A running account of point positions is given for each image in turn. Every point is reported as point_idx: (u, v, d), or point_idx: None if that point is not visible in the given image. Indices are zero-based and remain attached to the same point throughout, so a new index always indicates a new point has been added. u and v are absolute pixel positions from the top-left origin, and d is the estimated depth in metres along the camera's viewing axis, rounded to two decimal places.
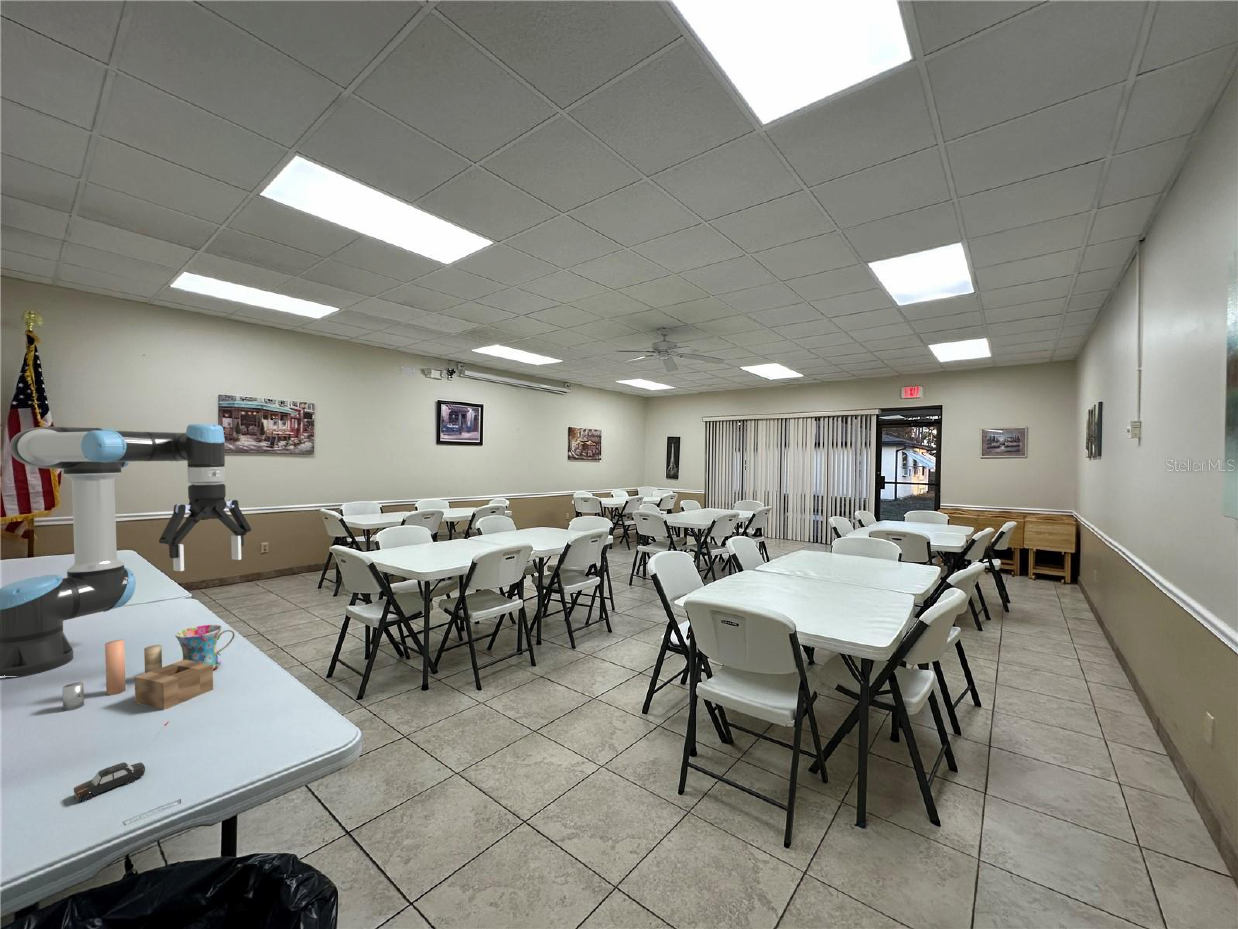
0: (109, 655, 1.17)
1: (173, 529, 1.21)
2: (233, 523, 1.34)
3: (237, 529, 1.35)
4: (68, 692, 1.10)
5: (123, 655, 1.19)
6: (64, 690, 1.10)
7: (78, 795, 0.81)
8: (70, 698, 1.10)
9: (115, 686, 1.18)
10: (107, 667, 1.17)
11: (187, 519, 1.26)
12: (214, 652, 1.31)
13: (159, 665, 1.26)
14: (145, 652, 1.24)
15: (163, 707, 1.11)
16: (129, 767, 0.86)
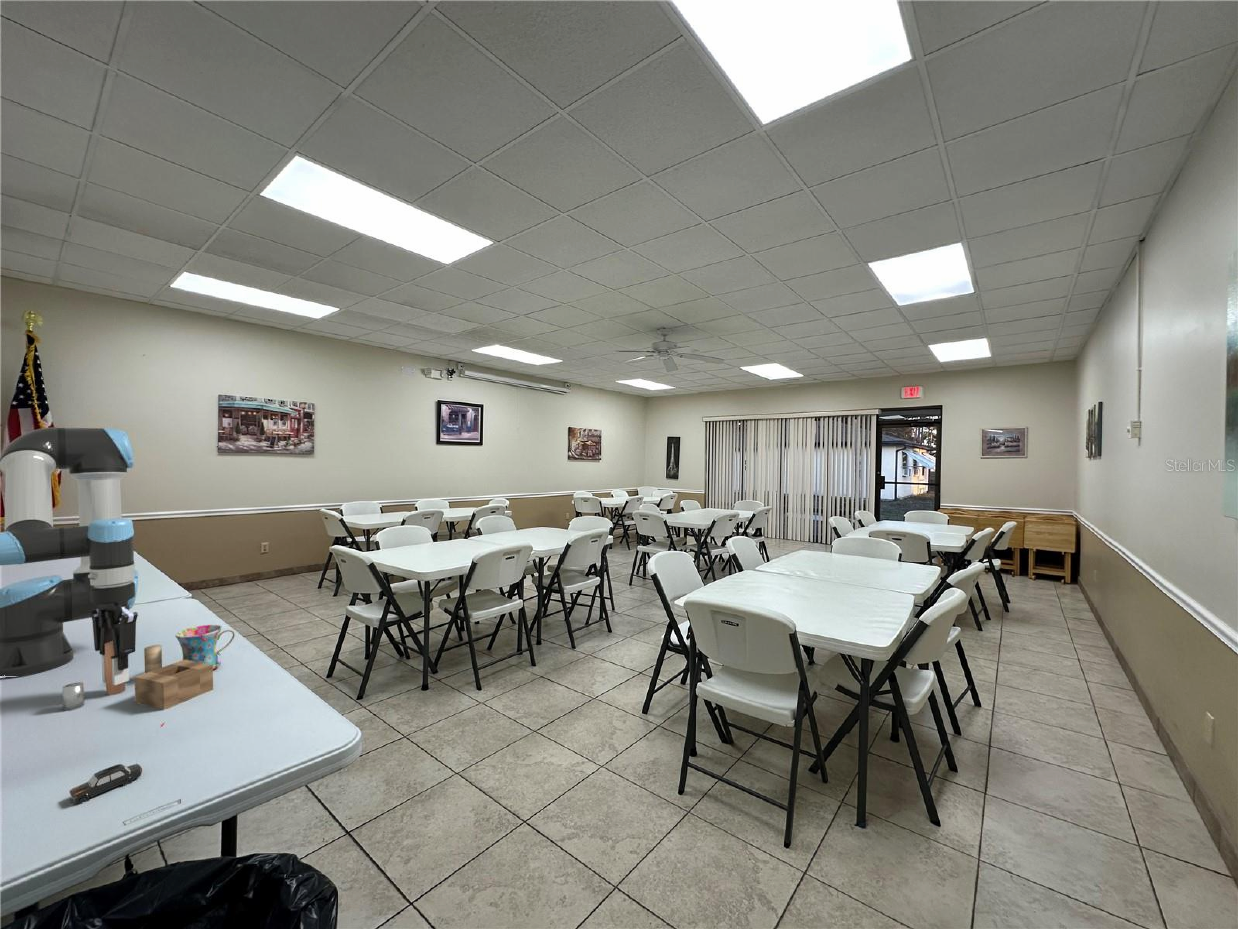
0: (109, 655, 1.17)
1: (95, 636, 1.19)
2: (114, 639, 1.17)
3: (114, 648, 1.17)
4: (68, 692, 1.10)
5: None
6: (64, 690, 1.10)
7: (75, 797, 0.80)
8: (70, 698, 1.10)
9: (115, 686, 1.18)
10: (107, 667, 1.17)
11: None
12: (214, 652, 1.31)
13: (159, 665, 1.26)
14: (145, 652, 1.24)
15: (163, 707, 1.11)
16: (126, 768, 0.86)
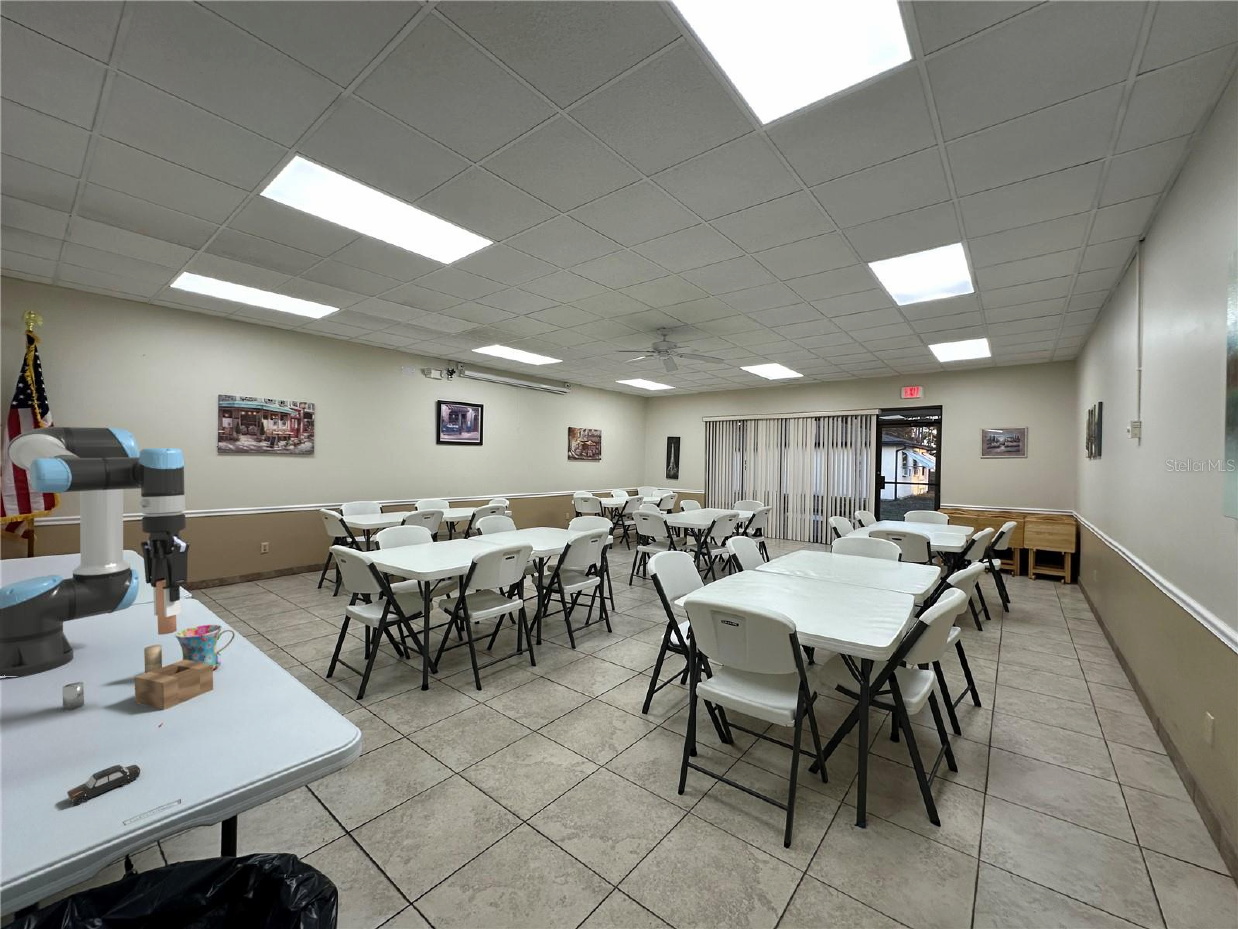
0: (161, 593, 1.14)
1: (146, 568, 1.17)
2: (166, 569, 1.14)
3: (166, 578, 1.14)
4: (68, 692, 1.10)
5: None
6: (64, 690, 1.10)
7: (73, 798, 0.80)
8: (70, 698, 1.10)
9: (167, 625, 1.15)
10: (158, 606, 1.15)
11: None
12: (214, 652, 1.31)
13: (159, 665, 1.26)
14: (145, 652, 1.24)
15: (163, 707, 1.11)
16: (124, 769, 0.86)
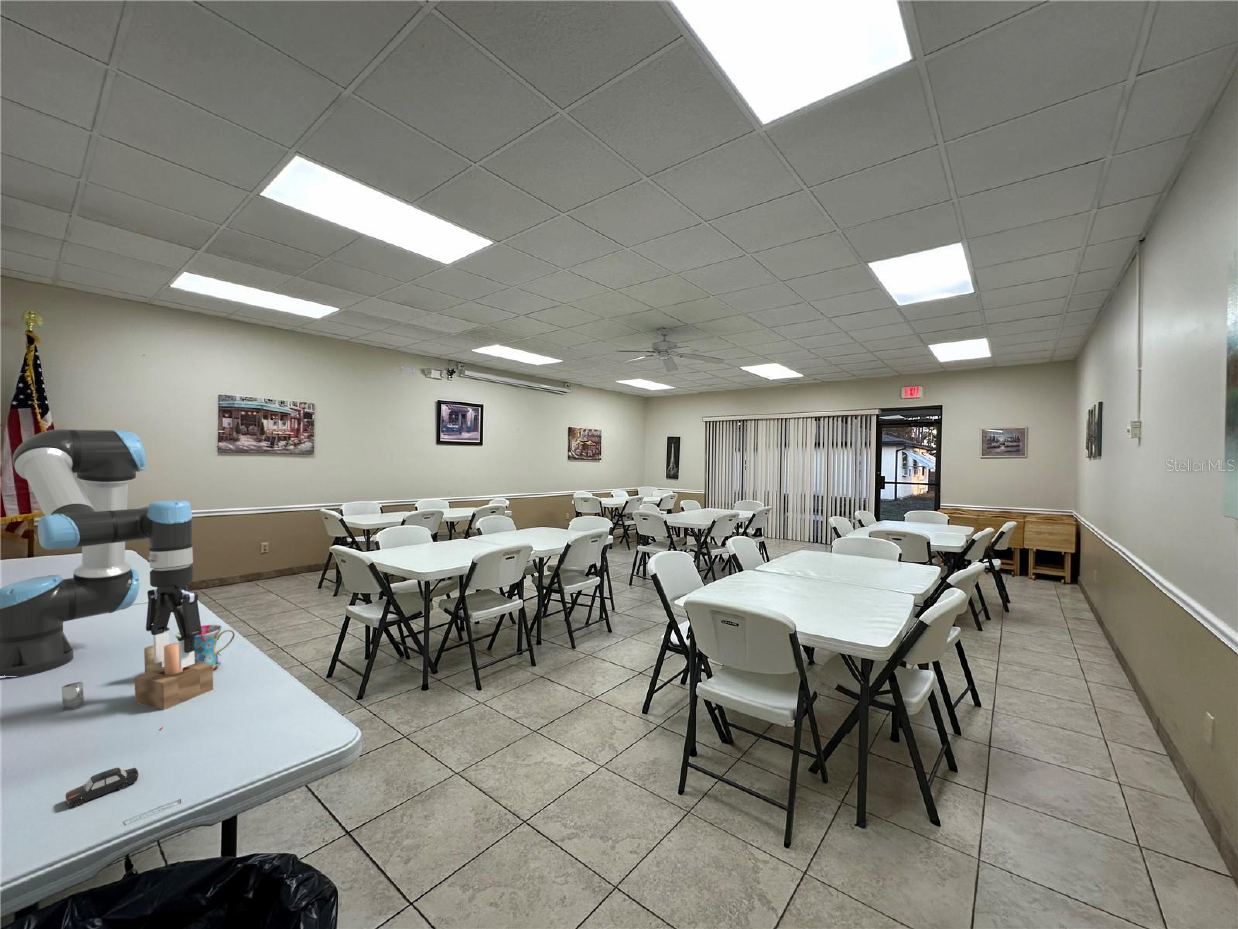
0: (168, 658, 1.15)
1: (148, 616, 1.17)
2: (178, 621, 1.14)
3: (180, 630, 1.14)
4: (68, 692, 1.10)
5: None
6: (64, 690, 1.10)
7: (69, 801, 0.80)
8: (70, 698, 1.10)
9: None
10: (166, 670, 1.15)
11: None
12: (214, 652, 1.31)
13: (159, 665, 1.26)
14: (145, 652, 1.24)
15: (163, 707, 1.11)
16: (122, 773, 0.85)
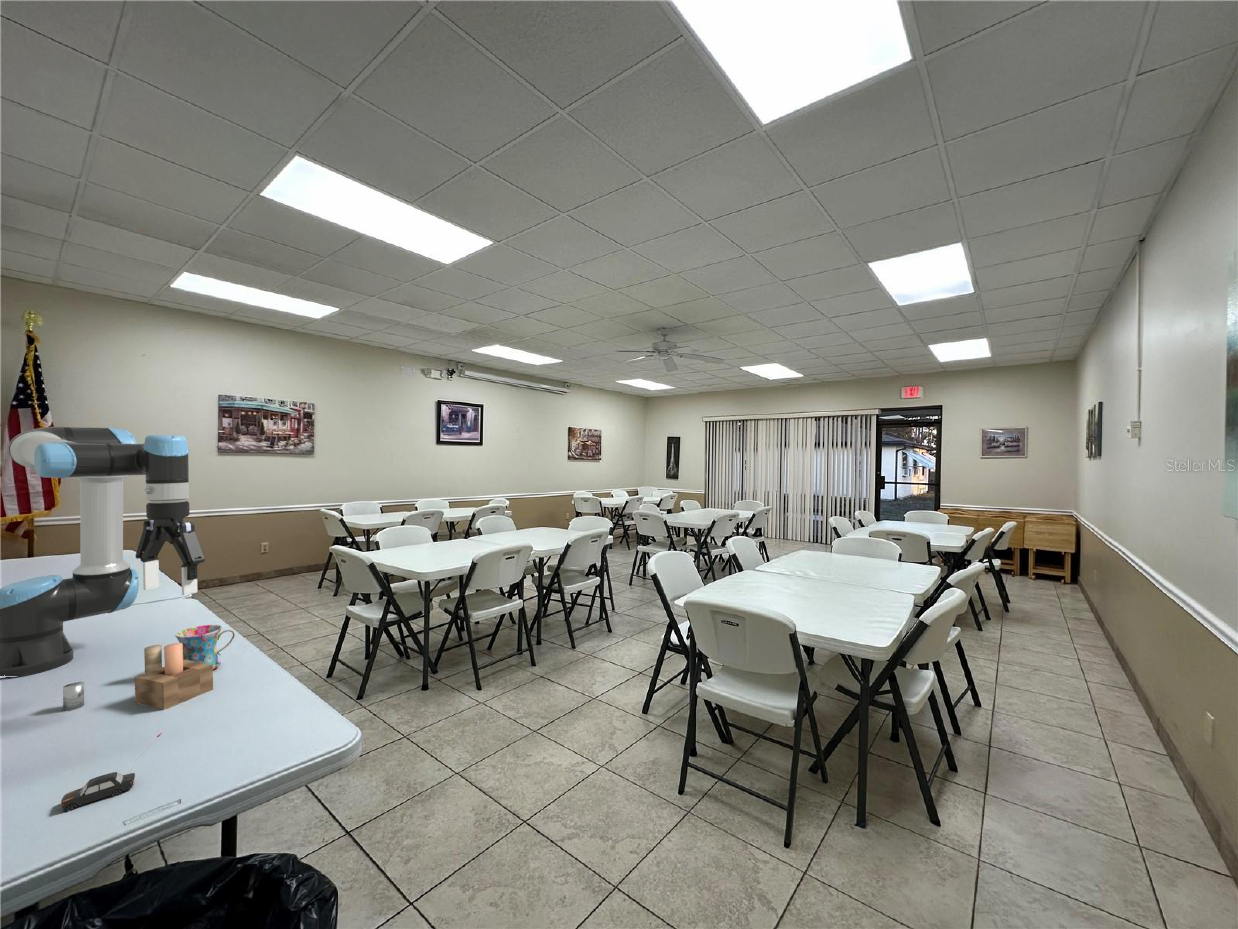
0: (168, 658, 1.15)
1: (140, 545, 1.18)
2: (178, 550, 1.14)
3: (182, 558, 1.14)
4: (70, 692, 1.10)
5: (182, 658, 1.17)
6: (66, 690, 1.10)
7: (62, 804, 0.79)
8: (72, 698, 1.11)
9: None
10: (166, 671, 1.15)
11: None
12: (214, 652, 1.31)
13: (159, 665, 1.26)
14: (145, 652, 1.24)
15: (163, 707, 1.11)
16: (117, 778, 0.83)
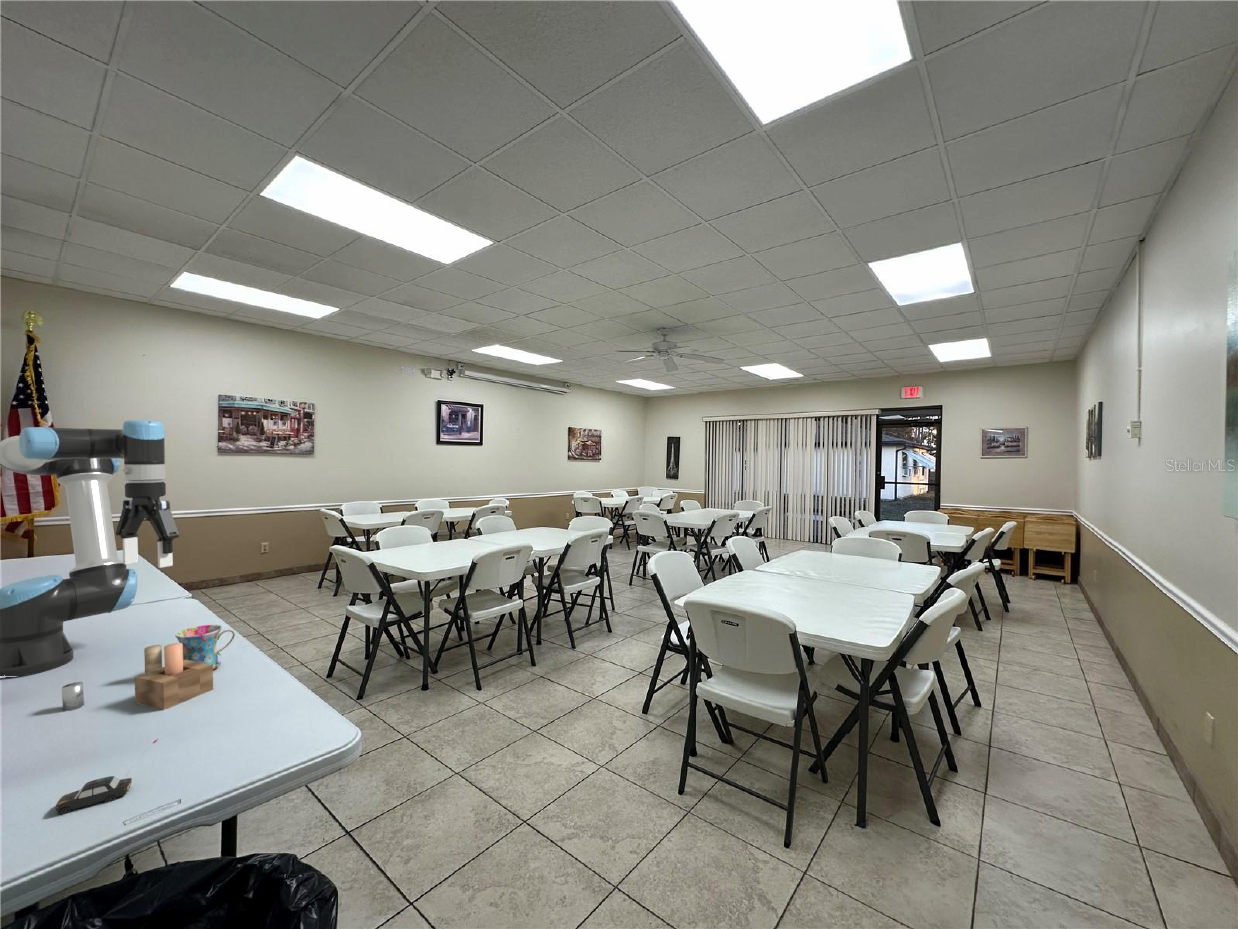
0: (169, 658, 1.15)
1: (120, 522, 1.28)
2: (155, 526, 1.23)
3: (158, 534, 1.23)
4: (70, 692, 1.10)
5: (182, 658, 1.17)
6: (66, 690, 1.10)
7: (56, 807, 0.78)
8: (73, 698, 1.11)
9: None
10: (166, 671, 1.15)
11: None
12: (214, 652, 1.31)
13: (159, 665, 1.26)
14: (145, 652, 1.24)
15: (163, 707, 1.11)
16: (111, 784, 0.82)
